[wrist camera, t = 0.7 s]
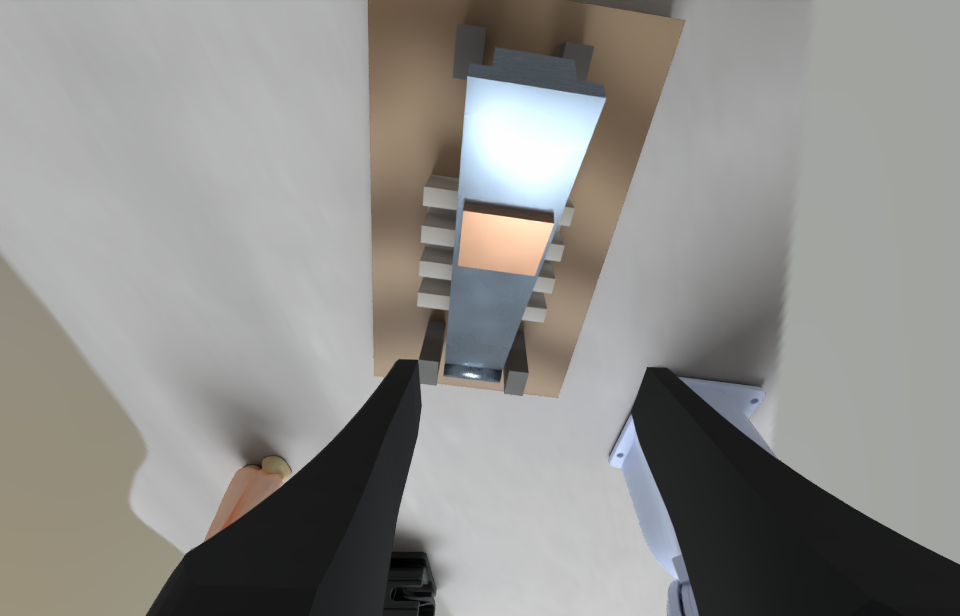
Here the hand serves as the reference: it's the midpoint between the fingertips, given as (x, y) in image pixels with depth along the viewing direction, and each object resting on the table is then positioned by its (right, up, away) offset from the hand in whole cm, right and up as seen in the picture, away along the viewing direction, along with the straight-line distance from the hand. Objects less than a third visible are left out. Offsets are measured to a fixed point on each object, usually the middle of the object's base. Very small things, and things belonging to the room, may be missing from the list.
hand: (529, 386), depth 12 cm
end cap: (-10, -26, +30) cm, 41 cm away
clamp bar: (-1, +5, +3) cm, 6 cm away
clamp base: (-1, +7, +8) cm, 11 cm away
